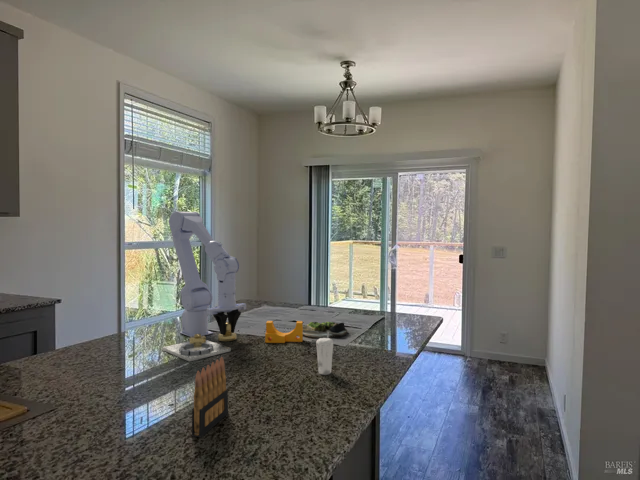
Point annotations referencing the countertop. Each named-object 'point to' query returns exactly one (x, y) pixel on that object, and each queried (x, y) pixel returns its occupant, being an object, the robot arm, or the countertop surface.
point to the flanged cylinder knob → (227, 334)
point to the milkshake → (324, 354)
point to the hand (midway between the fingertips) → (227, 333)
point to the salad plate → (324, 329)
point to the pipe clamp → (283, 334)
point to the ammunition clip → (209, 398)
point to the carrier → (196, 348)
